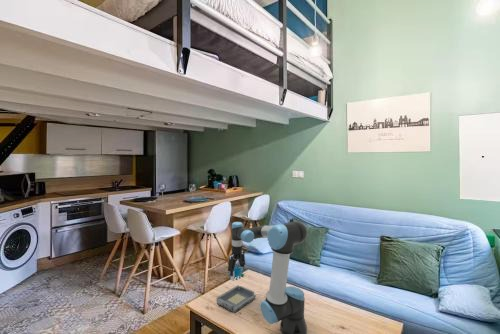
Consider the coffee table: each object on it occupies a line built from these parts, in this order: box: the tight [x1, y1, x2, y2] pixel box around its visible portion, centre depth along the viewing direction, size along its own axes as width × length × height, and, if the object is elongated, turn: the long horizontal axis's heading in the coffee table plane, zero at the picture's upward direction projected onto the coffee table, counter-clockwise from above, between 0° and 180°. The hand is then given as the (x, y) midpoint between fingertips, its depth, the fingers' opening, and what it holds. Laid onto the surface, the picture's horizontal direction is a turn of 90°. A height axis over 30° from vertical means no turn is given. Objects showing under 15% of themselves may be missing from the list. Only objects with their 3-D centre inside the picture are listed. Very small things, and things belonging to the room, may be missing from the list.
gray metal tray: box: [216, 284, 257, 314], centre depth 171 cm, size 17×23×4 cm
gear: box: [228, 264, 245, 281], centre depth 172 cm, size 11×6×10 cm
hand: (236, 278), depth 170 cm, fingers closed on gear, 8 cm apart
